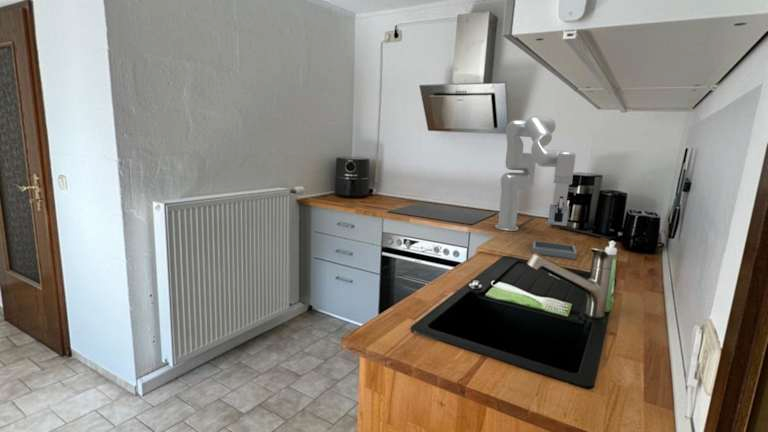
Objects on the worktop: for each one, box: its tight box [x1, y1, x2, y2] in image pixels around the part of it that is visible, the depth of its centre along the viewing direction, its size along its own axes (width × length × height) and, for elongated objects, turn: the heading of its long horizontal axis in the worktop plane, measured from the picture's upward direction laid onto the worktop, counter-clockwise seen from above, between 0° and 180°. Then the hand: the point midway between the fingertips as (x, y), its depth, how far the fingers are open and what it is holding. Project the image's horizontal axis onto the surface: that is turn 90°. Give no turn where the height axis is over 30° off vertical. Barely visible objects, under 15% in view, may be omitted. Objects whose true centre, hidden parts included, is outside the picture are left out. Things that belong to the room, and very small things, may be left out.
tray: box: [532, 240, 578, 260], centre depth 187 cm, size 14×18×3 cm
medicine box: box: [547, 203, 570, 227], centre depth 184 cm, size 8×4×9 cm, turn 65°
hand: (557, 220), depth 184 cm, fingers closed on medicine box, 4 cm apart
